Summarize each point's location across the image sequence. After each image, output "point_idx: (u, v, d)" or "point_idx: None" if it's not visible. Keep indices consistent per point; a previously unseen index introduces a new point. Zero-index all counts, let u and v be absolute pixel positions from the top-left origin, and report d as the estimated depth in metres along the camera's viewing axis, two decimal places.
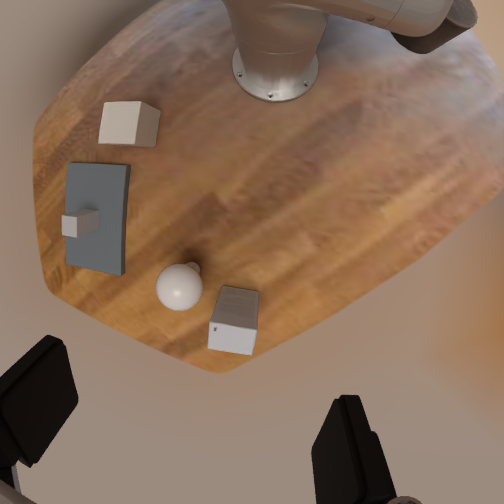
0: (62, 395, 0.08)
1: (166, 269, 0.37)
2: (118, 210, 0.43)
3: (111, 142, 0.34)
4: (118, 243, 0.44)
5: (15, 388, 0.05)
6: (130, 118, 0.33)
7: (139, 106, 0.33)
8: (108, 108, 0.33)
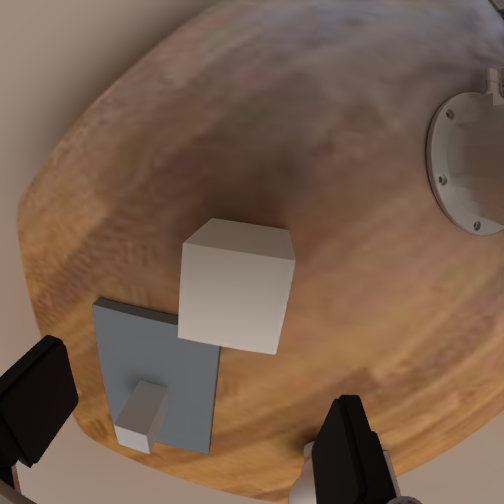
0: (62, 395, 0.08)
1: (311, 493, 0.20)
2: (206, 393, 0.25)
3: (215, 343, 0.17)
4: (206, 427, 0.27)
5: (15, 388, 0.05)
6: (265, 299, 0.16)
7: (289, 274, 0.15)
8: (197, 262, 0.15)
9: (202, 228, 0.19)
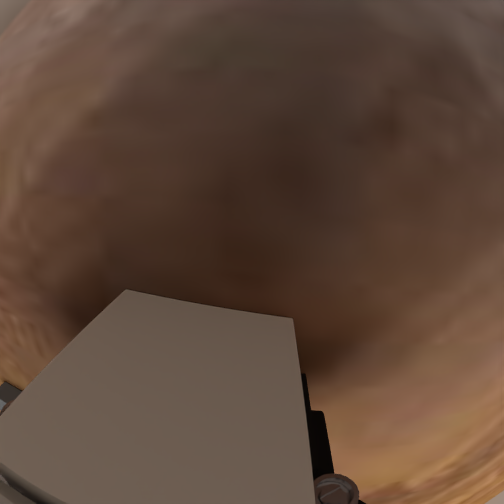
0: None
1: None
2: None
3: None
4: None
5: None
6: None
7: None
8: (27, 490, 0.03)
9: (71, 347, 0.06)
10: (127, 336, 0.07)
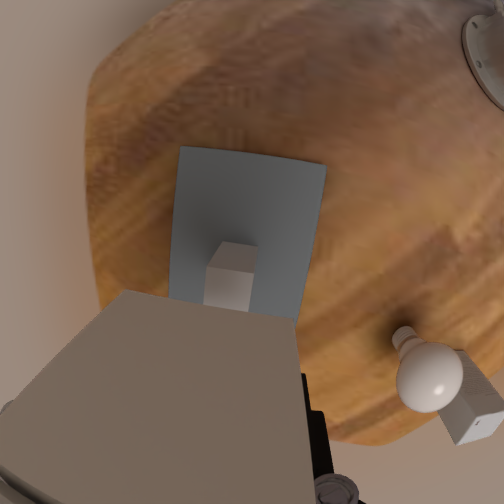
0: None
1: (431, 359, 0.19)
2: (303, 248, 0.25)
3: None
4: (294, 306, 0.26)
5: None
6: None
7: None
8: (26, 491, 0.03)
9: (70, 348, 0.06)
10: (126, 336, 0.07)
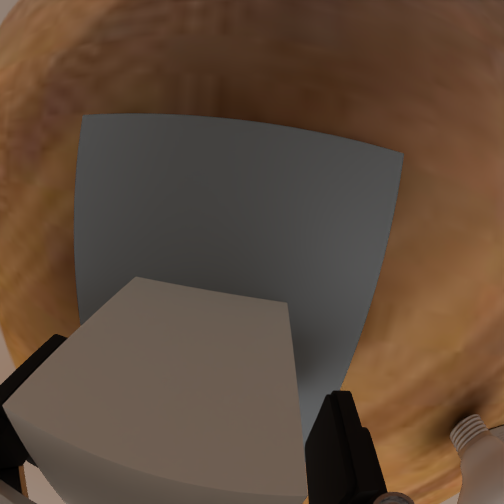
0: None
1: None
2: (343, 333, 0.11)
3: None
4: None
5: None
6: None
7: None
8: (45, 450, 0.04)
9: (88, 324, 0.07)
10: (139, 315, 0.08)
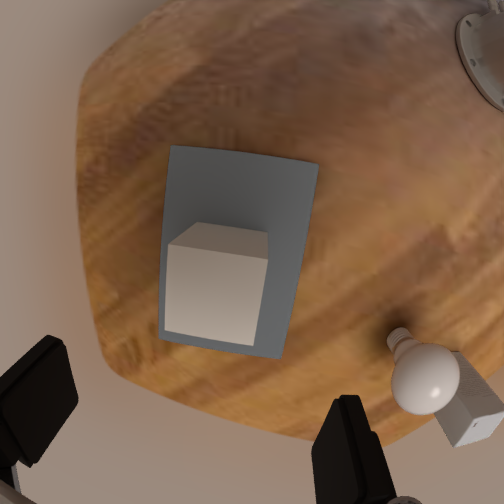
0: (62, 395, 0.08)
1: (426, 360, 0.19)
2: (295, 248, 0.24)
3: (198, 336, 0.18)
4: (286, 307, 0.26)
5: (15, 388, 0.05)
6: (241, 294, 0.17)
7: (263, 271, 0.17)
8: (180, 261, 0.17)
9: (187, 231, 0.20)
10: (206, 230, 0.22)
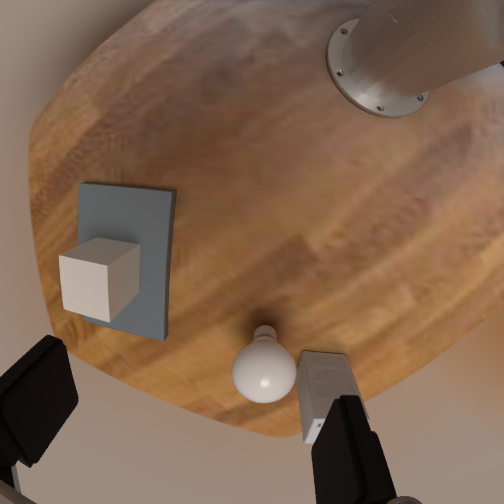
0: (62, 395, 0.08)
1: (250, 353, 0.26)
2: (160, 256, 0.31)
3: (80, 313, 0.25)
4: (160, 301, 0.33)
5: (15, 388, 0.05)
6: (97, 287, 0.25)
7: (106, 273, 0.24)
8: (65, 265, 0.24)
9: (80, 245, 0.28)
10: (94, 244, 0.29)
